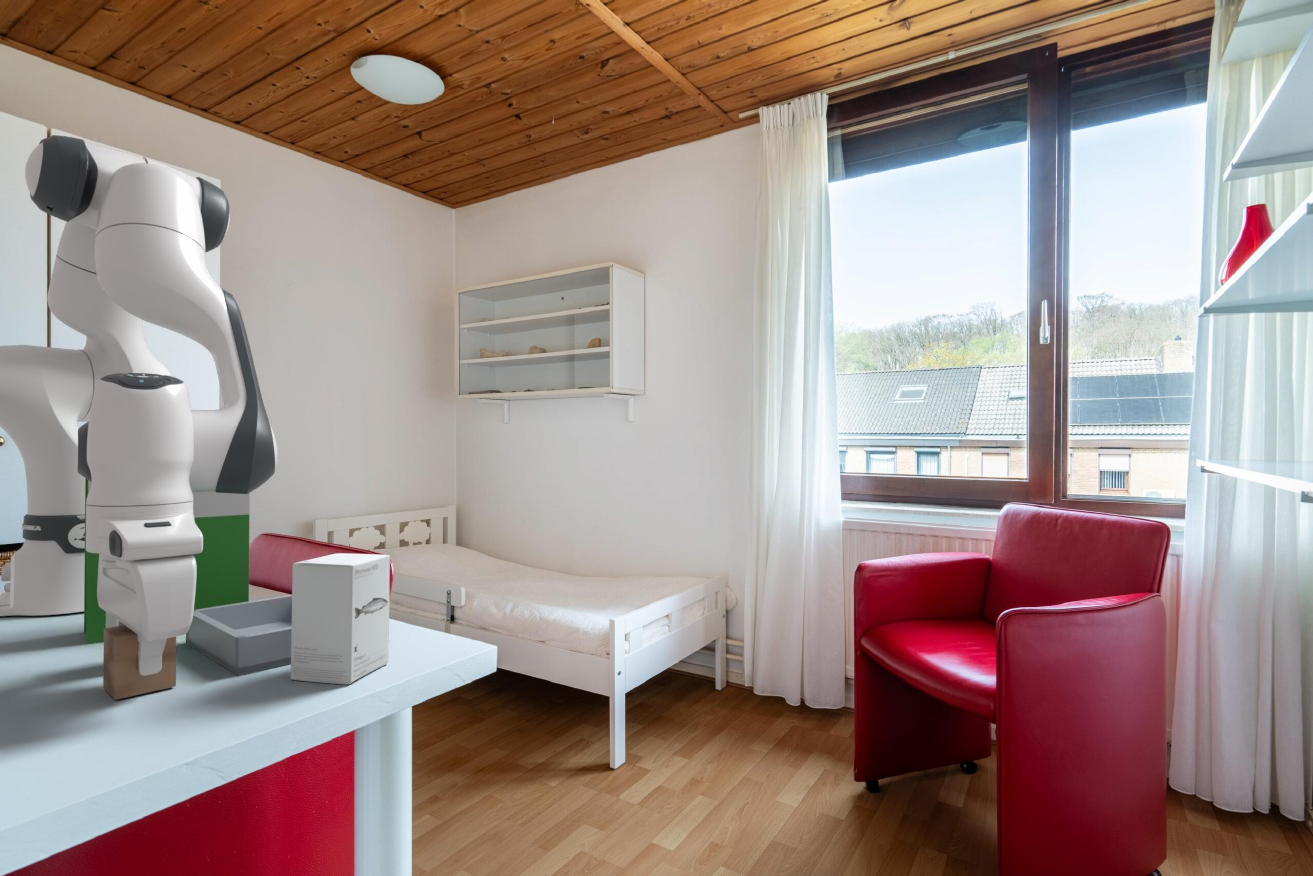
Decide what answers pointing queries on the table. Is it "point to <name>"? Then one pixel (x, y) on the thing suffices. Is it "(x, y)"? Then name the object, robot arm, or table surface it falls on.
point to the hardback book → (216, 564)
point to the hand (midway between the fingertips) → (140, 665)
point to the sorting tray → (244, 634)
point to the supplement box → (339, 617)
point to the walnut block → (133, 665)
